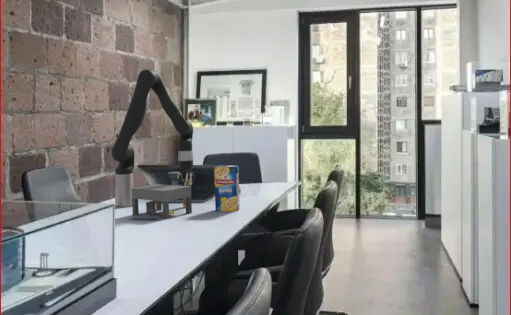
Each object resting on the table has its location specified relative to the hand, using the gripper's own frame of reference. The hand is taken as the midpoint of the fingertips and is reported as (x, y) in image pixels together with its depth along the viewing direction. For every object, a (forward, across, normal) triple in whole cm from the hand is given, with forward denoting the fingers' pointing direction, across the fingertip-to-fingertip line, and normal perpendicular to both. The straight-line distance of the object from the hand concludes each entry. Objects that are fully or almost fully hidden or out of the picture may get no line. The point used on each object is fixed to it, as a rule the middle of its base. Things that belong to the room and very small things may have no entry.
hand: (186, 192), depth 300 cm
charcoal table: (+8, +22, +4) cm, 24 cm away
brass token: (+8, +21, +6) cm, 24 cm away
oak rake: (+7, +13, 0) cm, 15 cm away
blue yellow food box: (+8, -2, +25) cm, 26 cm away
